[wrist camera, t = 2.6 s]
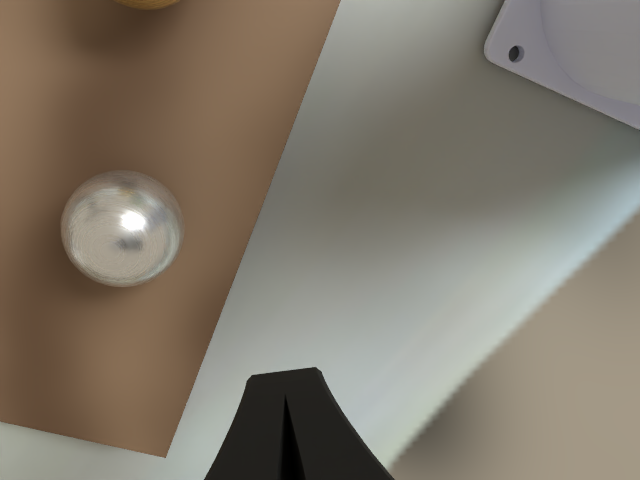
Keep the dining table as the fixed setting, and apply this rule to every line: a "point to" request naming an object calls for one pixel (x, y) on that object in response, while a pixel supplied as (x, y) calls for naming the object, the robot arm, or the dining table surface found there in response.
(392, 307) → the dining table surface
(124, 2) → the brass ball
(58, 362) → the walnut board
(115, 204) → the steel ball
